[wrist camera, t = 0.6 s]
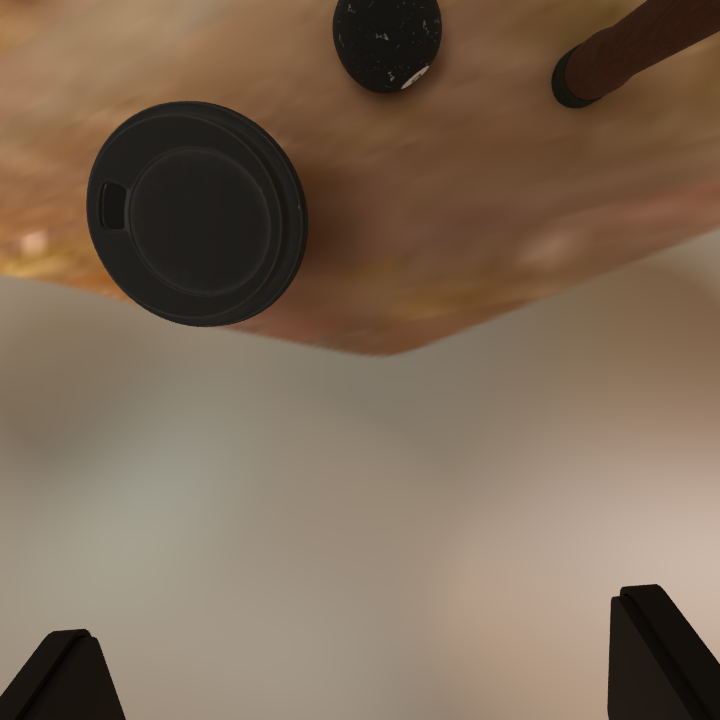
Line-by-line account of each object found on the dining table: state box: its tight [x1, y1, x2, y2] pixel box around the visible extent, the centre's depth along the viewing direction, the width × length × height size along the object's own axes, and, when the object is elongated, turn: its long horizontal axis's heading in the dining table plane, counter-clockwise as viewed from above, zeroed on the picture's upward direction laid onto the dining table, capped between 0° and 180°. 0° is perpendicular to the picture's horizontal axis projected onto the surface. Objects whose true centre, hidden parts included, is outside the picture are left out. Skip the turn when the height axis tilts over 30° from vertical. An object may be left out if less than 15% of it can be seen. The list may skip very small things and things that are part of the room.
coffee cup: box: [86, 101, 308, 327], centre depth 27 cm, size 9×9×15 cm
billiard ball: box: [333, 0, 442, 93], centre depth 28 cm, size 6×6×6 cm
